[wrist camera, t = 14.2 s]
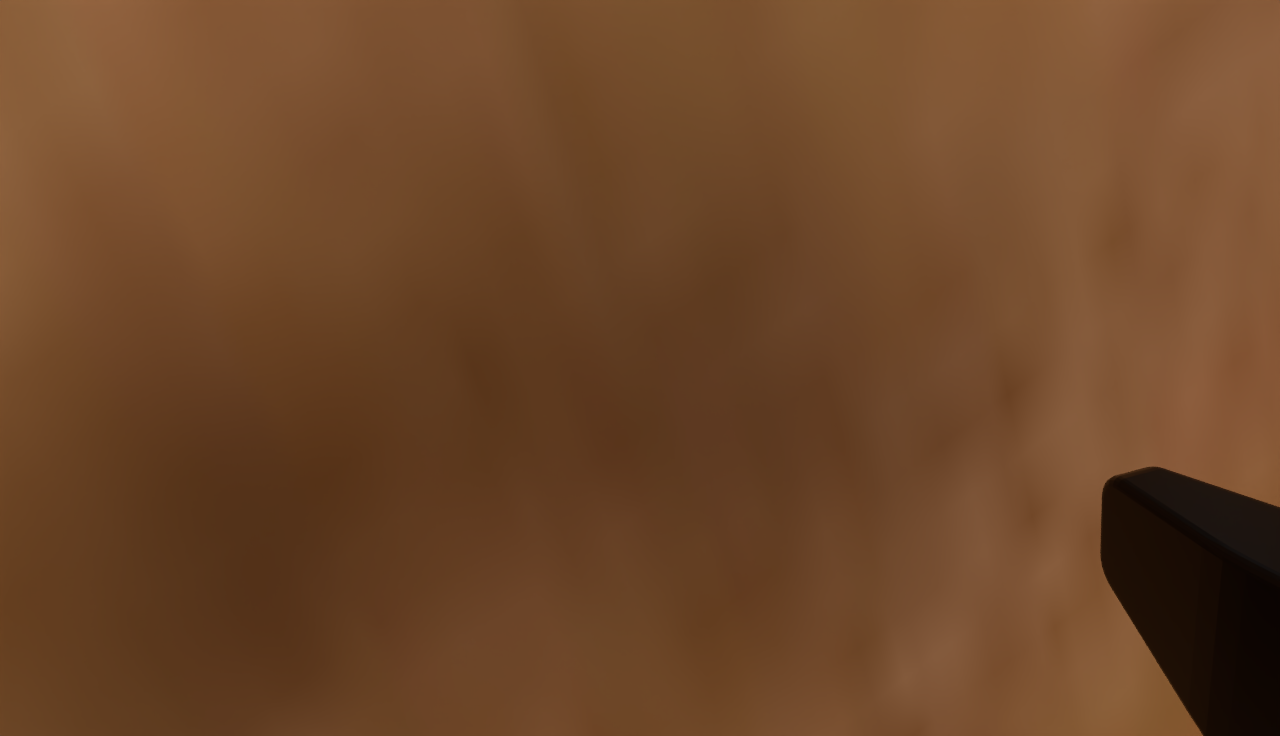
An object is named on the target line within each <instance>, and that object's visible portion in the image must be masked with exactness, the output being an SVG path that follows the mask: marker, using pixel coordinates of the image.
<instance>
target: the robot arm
mask: <svg viewBox="0 0 1280 736" xmlns="http://www.w3.org/2000/svg"><path fill="white" fill-rule="evenodd" d="M1100 553H1101V562H1102V567H1103V571H1104V574H1105V576H1106V578H1107V581H1108V583H1109V585H1110V586H1111V588H1112V590H1113V591H1114V593H1115V595H1116V596H1117V598H1118V599H1119V601H1120V603H1121V604H1122V606H1123V608H1124V609H1125V611H1126V612H1127V614H1128V616H1129V617H1130V619H1131V621H1132V622H1133V624H1134V625H1135V627H1136V629H1137V630H1138V632H1139V633H1140V635H1141V637H1142V638H1143V640H1144V642H1145V643H1146V645H1147V646H1148V648H1149V650H1150V651H1151V653H1152V655H1153V656H1154V658H1155V659H1156V661H1157V663H1158V664H1159V666H1160V668H1161V669H1162V671H1163V672H1164V674H1165V676H1166V677H1167V679H1168V681H1169V682H1170V684H1171V685H1172V687H1173V689H1174V690H1175V692H1176V693H1177V695H1178V697H1179V698H1180V700H1181V702H1182V703H1183V705H1184V706H1185V708H1186V710H1187V711H1188V713H1189V714H1190V716H1191V718H1192V719H1193V721H1194V722H1195V724H1196V725H1197V727H1198V728H1199V730H1200V731H1201V733H1202V734H1203V736H1280V507H1277V506H1274V505H1271V504H1268V503H1265V502H1262V501H1259V500H1256V499H1253V498H1250V497H1247V496H1244V495H1241V494H1238V493H1235V492H1232V491H1229V490H1226V489H1223V488H1220V487H1217V486H1214V485H1211V484H1208V483H1205V482H1203V481H1200V480H1197V479H1194V478H1191V477H1188V476H1185V475H1182V474H1179V473H1176V472H1173V471H1170V470H1167V469H1163V468H1160V467H1146V468H1142V469H1138V470H1135V471H1131V472H1127V473H1124V474H1120V475H1116V476H1113V477H1111V478H1110V479H1109V480H1107V482H1106V483H1105V485H1104V488H1103V492H1102V514H1101V550H1100Z"/></svg>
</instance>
